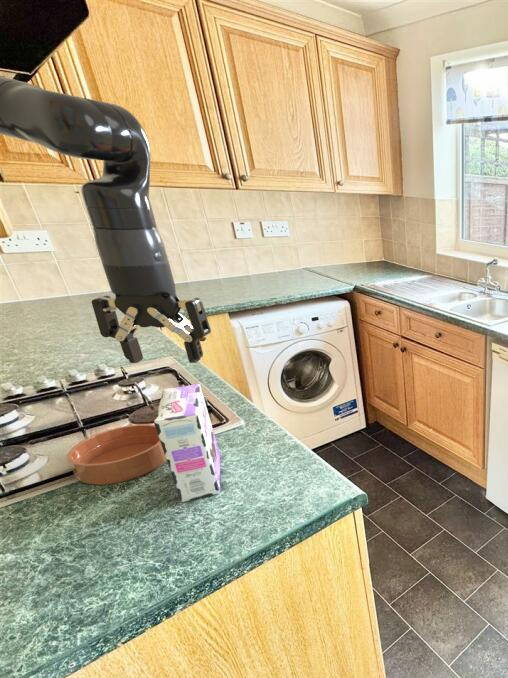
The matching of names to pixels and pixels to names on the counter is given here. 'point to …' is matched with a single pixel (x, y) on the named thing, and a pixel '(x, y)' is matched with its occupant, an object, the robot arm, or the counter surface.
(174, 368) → the counter surface
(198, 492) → the candy box
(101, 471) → the pan
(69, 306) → the counter surface
